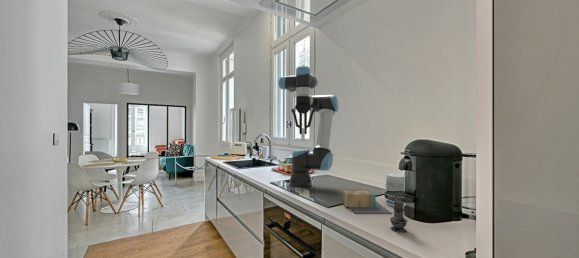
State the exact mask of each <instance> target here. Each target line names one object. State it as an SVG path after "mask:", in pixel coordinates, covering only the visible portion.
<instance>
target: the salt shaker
mask: <svg viewBox="0 0 579 258" xmlns="http://www.w3.org/2000/svg"><path fill="white" fill-rule="evenodd" d="M404 211H405V209H404V207H403V201H402V200H401V199H399V197H398V199H395V201H394V207H393V216H392V217H390V218H389V220H390V223H391V225H392V226H391V227H390V230H391V231H392V232H396V233H401V234H402V233H406V232H407V229H406V226H407V223H408V221H409V220H407V219H406V218H405V217H404Z"/></svg>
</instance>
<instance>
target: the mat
mask: <svg viewBox="0 0 579 258" xmlns="http://www.w3.org/2000/svg"><path fill="white" fill-rule="evenodd" d="M349 209H350V210H351V211H352V212H353V213H354V214H357V215H392V214H393V213H392V212H391V211H389V210H388V209H387V208H386V207H384V206H383V205H382V204H381V203H379V202H378V201H377V200H376V207H349Z"/></svg>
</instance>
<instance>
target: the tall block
mask: <svg viewBox="0 0 579 258" xmlns="http://www.w3.org/2000/svg"><path fill="white" fill-rule="evenodd" d="M376 196H377V194H376V193H375V192H373V191H371V190H365V191H364V190H363V191H361V190H343V191H342V205H343V206H344V207H345V208H350V207H376V201H377V199H376Z"/></svg>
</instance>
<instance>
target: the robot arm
mask: <svg viewBox="0 0 579 258" xmlns="http://www.w3.org/2000/svg"><path fill="white" fill-rule="evenodd" d="M318 81H319V80H318V78H317V77H316V76H315V75H314V74H311V67H309V66H307V65H306V66H305V65H301V66H300V65H299V66H297V67H296V68H295V75H288V76H287V75H284V76H280V78H278V87H279V88H280V89H281V90H283V91H284V90H287V91H288V92H289V93H290V94H291V95H292V96H293V97H295V106H294V108H292V109H291V110H290V111H291V113H292V115H293V119H294V123H295V127H296V128H298V129H299V135H301V142H303V141H305V139H306V136H305V135H307V134H308V132H307V131H308V128H310V127H311V124H312V120H313V118H314V117H313V115H314V113H315V112H316V113H318V115H319V119H318V120H319V122H318V129H317V135H316V144H315V147H313V150H312V151H311V150H310V149H300V150H293V151H292V153H291V174H290V178H289V181H288V185H290V186H292V187H299V188H303V187H311V186H312V185H313V182H312V176H311V174H310V171H311V170H314V171H329V170H331V168H332V165H333V162H334V154H333V152H332V150H331V149H330V142H331V141H330V139H331V132H332V126H333V125H332V123H333V117H334V116H335V115H336V112H338V111H339V102H338V97H337V96H336V95H334V94H326V95H325V94H324V95H312V94H311V90H312V89H316V87H317V86H318V83H319V82H318ZM296 111H297V112H298V115H299V119H298V118H297V114H296ZM309 111H310V114H309V117H308V112H309Z"/></svg>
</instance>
